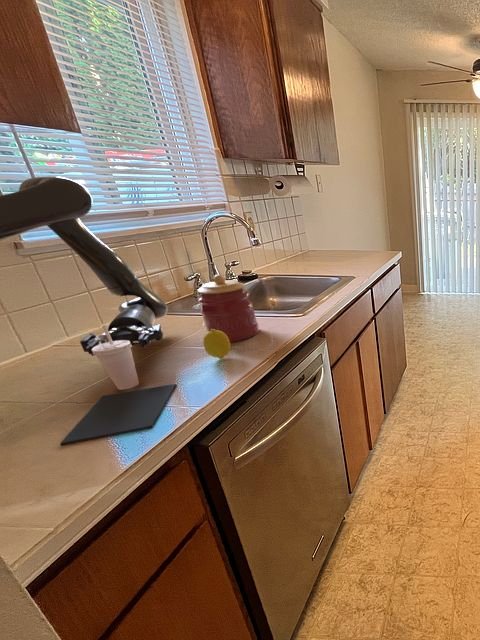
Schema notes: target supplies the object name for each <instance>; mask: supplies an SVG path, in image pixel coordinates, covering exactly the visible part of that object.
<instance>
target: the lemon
mask: <svg viewBox="0 0 480 640" xmlns="http://www.w3.org/2000/svg"><path fill="white" fill-rule="evenodd" d="M202 343H203V346H204V350H205V352H206V353H207V355H208V356H211V357H213V358H217V359H219V360H224V358H225V357H226V356H227V355H228V354H229V353H230V351H231V348H232V347H231V346H232V345H231V342H230V340H229V338H228V337H227V335H226V334H225V333H224V332H222V331H219V330H215V329H211V331H209V332H208V333H207V332H206V333H205V334H204V336H203V342H202Z"/></svg>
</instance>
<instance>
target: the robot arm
mask: <svg viewBox="0 0 480 640" xmlns="http://www.w3.org/2000/svg"><path fill="white" fill-rule="evenodd" d="M92 207H93V198H92V194H91V193H90V192H89V190H88V189H87V188H86V187H85V186H84V185H82V184H81V183H79V182H77V181H75V180H73V179H69V178H67V177H62V176H36V177H30V178H27V179H25V180H24V181H22V182H21V183H20V185H19V189H18V191H14V192H11V193H6V194H1V195H0V244H1V243H3V242H6V241H9V240H11V239H14V238H16V237H18V236H21V235H23V234H25V233H27V232H30V231H33V230H36V229H38V228H43V227H48V228H49V229H50V230H51V231H52V232H53V233H54V234H56V236H58V237H59V238H60V239H61V240H62V242H64V243H65V244H66V245H67V246H68V247H69V248H70V249H71V250H72V251H73V252H74V253H75V254H76V255H77V256H78V257H79V258H80V259H81V260H82V261H83V262H84V263H85V264H86V265H87V266H88V267H89V269H90V270H91V271H92V272H93V273H94V274H95V276H96V277H97V278H98V279H99V280H100V282H101V283H102V284H103V286H104V287H106V290H108V291H109V292H110V294H112V295H113V296H115V297H128V296H134V297H136V298H133V299H130V300H126V301H125V302H122V303H121V304H119V305H118V312H119V313H118V314H117V315H116V316H115V318H113V319H112V320H111V322H109V325H108V326H107V329H108V332H109V334H110V336H111V339H112V341H117V340H127V341H130V343H131V345H132V347H135V346H138V345H140V348H142V349H143V348H146V347H147V346H148V345H150V344H151V343H152V342H153V341H158V342H160V341H162V340H163V338H164V331H163V328H162V325H161V324H160V323H155V321H156V320H159V319H161V318H164V317H165V316H167V314H168V311H169V309H168V305H167V304H166V302H165V300H163V299H162V297H160V296H159V295H157V294H156V293H155V292H153V291H152V290H151V289H150V288H148V287H147V286H146V285H145V284H144V283H142V281H140V280H139V278H138V277H137V276H136V275H135V273H134V272H133V271H132V269H131V268H130V266H129V265H128V264H127V263H126V262H125V261H124V260H123V258H122V257H120V255H119V254H117V253H116V252H115V251H114V250H113V249H111V248H110V247H109V246H108V245H106V244H105V243H104V242H102V241H101V240H100V239H99V238H98V237H96V236H95V235H94V234H93V233H92V232H91V231H90V230H89V229H88V228H87V227H86V226H85V225H84V224H83V222H82V221H81V218H83V217H84V216H86V215H87V214H88V213H90V211H91V210H92ZM106 342H109V340H108V338H107V336H106V333H105V332H103V333H100V334H98V335H96V334H95V332H93V333H92V332H91V333H88V334H86V335H85V336H83V338H82V339H81V340H79V343H80V345H81V348H82V350H83V352H84V353H88V355H91V356H92V357H93V356H96V355H93V352H92V348H93V347H95V346H97V345H100V344H103V343H106Z"/></svg>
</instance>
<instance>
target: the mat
mask: <svg viewBox="0 0 480 640" xmlns="http://www.w3.org/2000/svg"><path fill="white" fill-rule="evenodd" d="M176 387H177V383H172V384H165V385H159V386H154V387H147V388H141V389H136V390H129V391H123V392H117V393H111V394H106V395H105V394H104V395H102V396H101V397H100V398H99V399H98V400H97V401H96V402H95V404H94V405H93V406H91V408H90V409H89V410H88V411H87V413H86V414H85V415H84V416H83V417H82V418H81V420H80V421H78V422H77V424H76V425H75V426H74V427H73V428H72V429H71V430H70V431H69V433H68V434H67V435H66V436H65V437H64V438H63V439H62V441H60V443H59V444H60V446H65V445H66V446H67V445H70V444H77V443H82V442H87V441H92V440H97V439H102V438H107V437H112V436H113V437H114V436H118V435H123V434H127V433H132V432H138V431H143V430H149V429H153V427H154V426H155V424H156V422H157V421H158V419H159V417H160V416H161V414H162V412H163V410H164V409H165V407H166V405H167V403H168V402H169V400H170V399H171V396H172V395H173V393H174V392H175V390H176Z"/></svg>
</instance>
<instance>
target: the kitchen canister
mask: <svg viewBox="0 0 480 640" xmlns="http://www.w3.org/2000/svg"><path fill="white" fill-rule="evenodd" d="M197 293H199V295H198V297H197V298H196V302H197V303H199V305H200V311H199V312H200V314H201V316H202V320H203V322H204V325H205V328H206V333H208V332H209V331H211V329H215V330H219V331H222V332H224V333H225V334H226V335H227V337H228V338H229V340H230V343H232V342H233V343H234V342H238V341H243V340H246V339H250V338H251V337H254V336H255V335H257V334H258V333H259V326H260V325H259V322H258V321H257V317H256V314H255V310H254V304H253V302H252V301H251V299H250V295H251V292H250V291H249V290H247V289H245V284H244V283H242V282H240V281H238V280H236V279H225V277H224V276H223V275H221V274H215V275H214V276H213V281H210V282H206V283H203V284H202V285H201V287H199V288H198V289H197Z"/></svg>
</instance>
